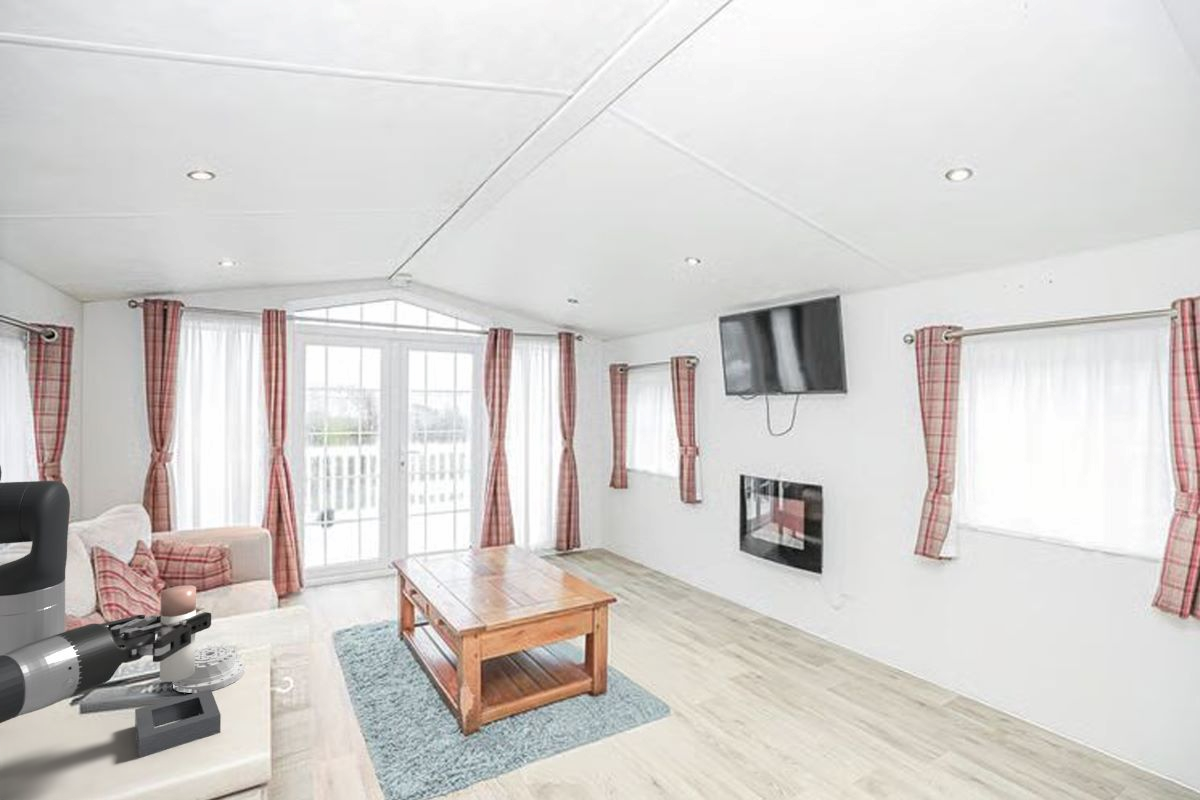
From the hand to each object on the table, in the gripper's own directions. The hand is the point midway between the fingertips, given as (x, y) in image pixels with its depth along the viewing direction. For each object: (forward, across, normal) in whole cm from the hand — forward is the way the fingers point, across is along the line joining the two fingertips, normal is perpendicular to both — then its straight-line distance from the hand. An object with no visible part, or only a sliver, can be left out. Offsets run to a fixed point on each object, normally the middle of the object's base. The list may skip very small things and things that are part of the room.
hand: (197, 616), depth 84 cm
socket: (-3, 0, +15) cm, 15 cm away
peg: (-3, 0, +7) cm, 8 cm away
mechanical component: (+9, +10, +15) cm, 20 cm away
